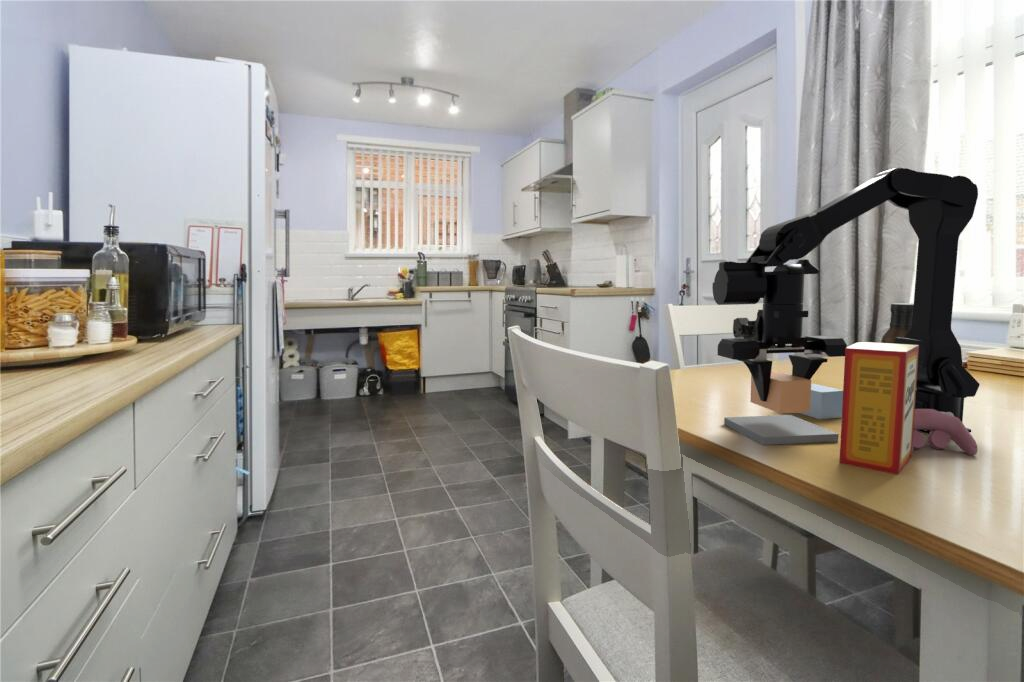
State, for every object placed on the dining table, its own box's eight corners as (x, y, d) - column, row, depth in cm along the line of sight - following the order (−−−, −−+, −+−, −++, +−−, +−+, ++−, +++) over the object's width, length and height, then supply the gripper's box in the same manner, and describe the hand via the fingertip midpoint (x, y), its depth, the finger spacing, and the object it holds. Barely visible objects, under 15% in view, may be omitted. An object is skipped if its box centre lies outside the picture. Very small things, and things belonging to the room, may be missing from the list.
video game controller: (960, 459, 76) (948, 411, 79) (984, 454, 72) (969, 404, 75) (888, 458, 77) (877, 411, 80) (907, 453, 73) (895, 404, 76)
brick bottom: (778, 400, 90) (779, 371, 89) (809, 411, 82) (811, 380, 81) (750, 402, 89) (751, 372, 89) (779, 413, 81) (781, 381, 81)
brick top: (808, 407, 103) (809, 382, 102) (843, 417, 95) (844, 390, 94) (786, 409, 101) (787, 384, 101) (820, 420, 94) (821, 392, 93)
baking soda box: (856, 446, 78) (862, 339, 76) (911, 456, 73) (919, 342, 72) (839, 462, 71) (845, 345, 70) (898, 474, 67) (906, 349, 65)
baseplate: (789, 421, 92) (790, 414, 92) (838, 441, 81) (838, 433, 80) (724, 424, 91) (724, 417, 91) (763, 445, 79) (763, 437, 79)
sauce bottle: (869, 406, 102) (875, 303, 100) (882, 401, 106) (887, 302, 104) (909, 412, 97) (916, 304, 95) (920, 407, 101) (927, 303, 99)
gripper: (805, 301, 93) (801, 388, 94) (703, 303, 91) (701, 392, 92) (852, 303, 82) (847, 402, 83) (736, 305, 80) (733, 407, 81)
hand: (779, 400), depth 85 cm, fingers closed on brick bottom, 5 cm apart
